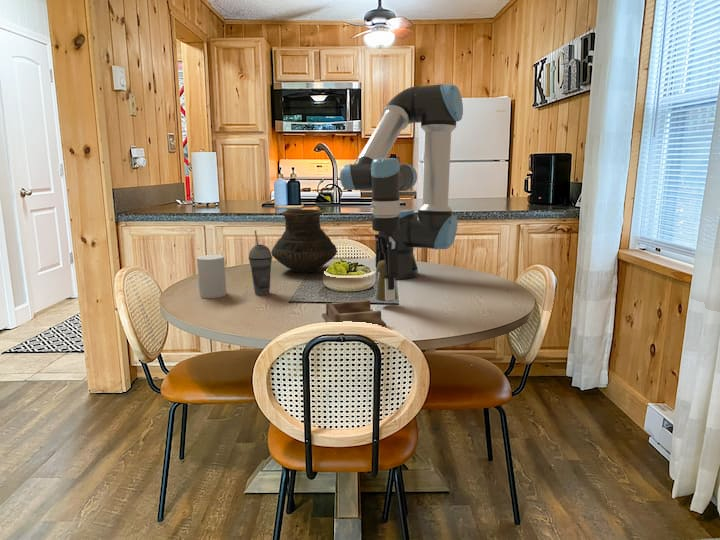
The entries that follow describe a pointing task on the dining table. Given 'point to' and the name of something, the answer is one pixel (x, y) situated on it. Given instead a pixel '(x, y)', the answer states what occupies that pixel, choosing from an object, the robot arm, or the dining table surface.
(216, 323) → the dining table surface
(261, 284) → the beverage cup
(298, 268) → the ceramic pot
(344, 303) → the brown wooden tray
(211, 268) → the grey cylinder
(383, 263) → the olive tall piece
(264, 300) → the dining table surface
